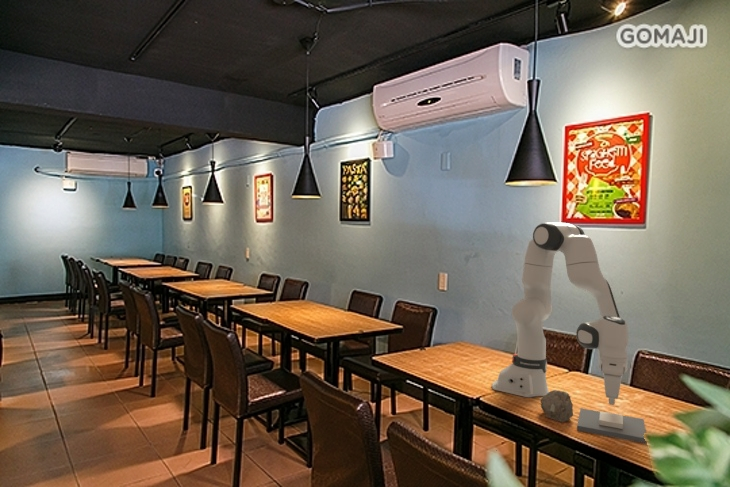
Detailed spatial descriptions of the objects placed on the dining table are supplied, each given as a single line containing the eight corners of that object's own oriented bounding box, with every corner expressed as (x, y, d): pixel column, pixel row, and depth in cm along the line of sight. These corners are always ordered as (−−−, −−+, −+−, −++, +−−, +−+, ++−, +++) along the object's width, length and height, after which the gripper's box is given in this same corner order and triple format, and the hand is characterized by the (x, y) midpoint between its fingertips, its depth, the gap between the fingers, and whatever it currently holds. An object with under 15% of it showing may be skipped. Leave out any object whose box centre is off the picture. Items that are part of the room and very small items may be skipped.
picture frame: (600, 416, 168) (599, 425, 160) (600, 411, 168) (599, 420, 160) (622, 420, 165) (622, 429, 157) (622, 415, 165) (623, 424, 157)
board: (576, 430, 160) (577, 425, 160) (580, 412, 176) (580, 408, 176) (646, 443, 151) (646, 438, 150) (643, 423, 166) (643, 419, 166)
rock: (528, 396, 174) (542, 386, 178) (539, 423, 174) (552, 411, 178) (560, 400, 162) (573, 388, 166) (571, 428, 162) (585, 416, 166)
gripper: (603, 355, 176) (602, 393, 177) (601, 369, 158) (600, 411, 159) (622, 358, 173) (621, 396, 174) (623, 372, 155) (622, 414, 156)
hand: (611, 403), depth 166 cm, fingers closed
